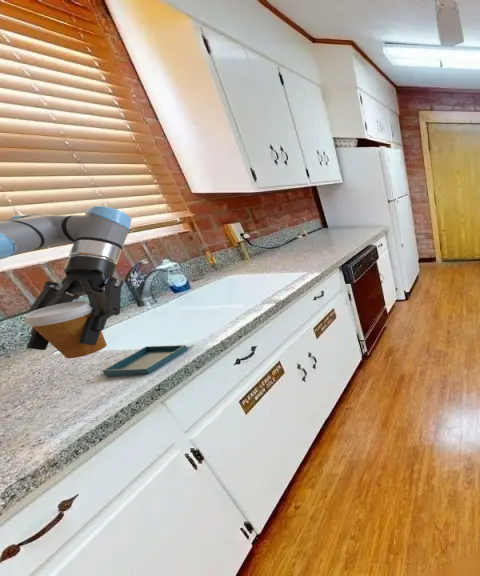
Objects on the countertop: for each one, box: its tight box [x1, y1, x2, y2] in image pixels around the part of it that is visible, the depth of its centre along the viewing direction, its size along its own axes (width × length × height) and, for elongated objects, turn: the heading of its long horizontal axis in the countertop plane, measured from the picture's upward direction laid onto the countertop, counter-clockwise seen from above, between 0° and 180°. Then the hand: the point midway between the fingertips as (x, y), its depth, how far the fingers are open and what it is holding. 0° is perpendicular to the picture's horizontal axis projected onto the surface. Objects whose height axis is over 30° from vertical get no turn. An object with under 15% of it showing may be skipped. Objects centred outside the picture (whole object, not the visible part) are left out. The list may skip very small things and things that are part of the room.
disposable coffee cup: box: [24, 300, 108, 359], centre depth 71 cm, size 10×10×12 cm
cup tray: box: [101, 344, 189, 377], centre depth 89 cm, size 12×12×2 cm
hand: (62, 346), depth 69 cm, fingers closed on disposable coffee cup, 9 cm apart
